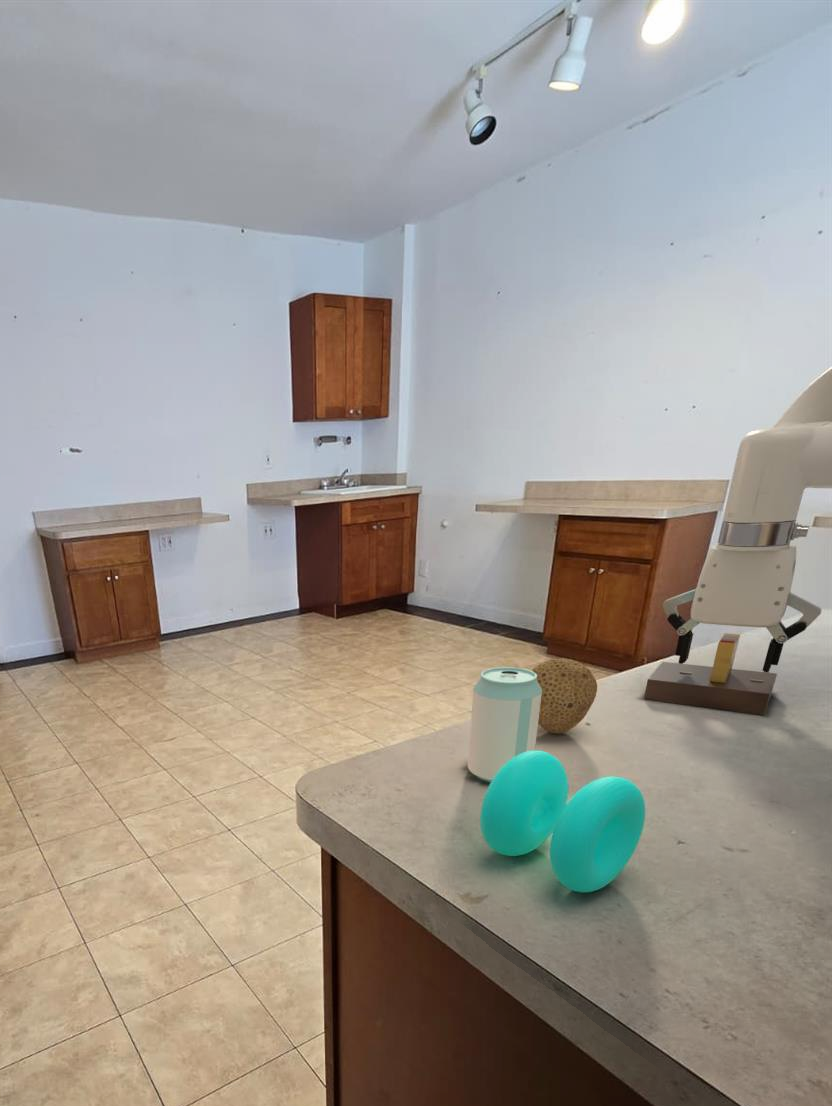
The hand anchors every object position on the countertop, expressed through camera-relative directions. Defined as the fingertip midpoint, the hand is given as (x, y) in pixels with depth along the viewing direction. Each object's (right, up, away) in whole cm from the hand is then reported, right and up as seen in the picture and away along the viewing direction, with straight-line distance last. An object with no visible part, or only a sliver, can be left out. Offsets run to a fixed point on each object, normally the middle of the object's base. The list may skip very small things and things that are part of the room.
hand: (723, 665), depth 89 cm
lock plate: (0, -4, +3) cm, 5 cm away
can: (-37, -15, -15) cm, 42 cm away
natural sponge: (-27, -10, -5) cm, 29 cm away
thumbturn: (0, -2, +1) cm, 2 cm away
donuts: (-39, -23, -32) cm, 55 cm away
